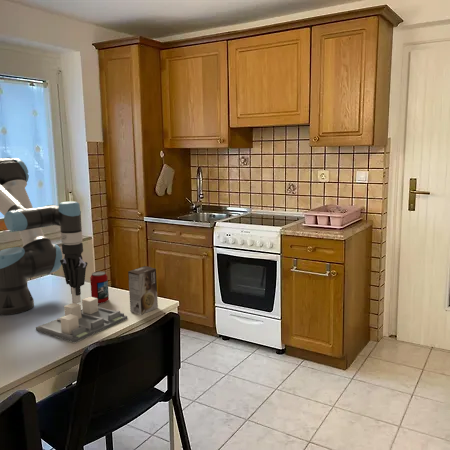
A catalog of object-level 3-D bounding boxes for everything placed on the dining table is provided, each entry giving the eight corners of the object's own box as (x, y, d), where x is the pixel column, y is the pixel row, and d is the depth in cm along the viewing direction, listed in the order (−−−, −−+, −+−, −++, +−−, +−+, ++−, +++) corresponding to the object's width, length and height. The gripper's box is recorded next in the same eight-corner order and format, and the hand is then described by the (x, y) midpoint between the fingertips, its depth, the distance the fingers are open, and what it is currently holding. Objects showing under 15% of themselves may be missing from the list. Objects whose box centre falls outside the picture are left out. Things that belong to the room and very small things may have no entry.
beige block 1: (65, 319, 163) (64, 306, 162) (74, 315, 166) (73, 302, 165) (72, 321, 161) (71, 308, 160) (81, 317, 164) (80, 304, 163)
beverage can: (104, 304, 180) (102, 275, 178) (88, 303, 182) (86, 275, 180) (111, 299, 187) (110, 271, 185) (96, 298, 188) (94, 270, 186)
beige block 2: (61, 331, 152) (60, 317, 151) (71, 327, 155) (70, 314, 154) (69, 334, 150) (68, 320, 149) (79, 330, 153) (78, 316, 152)
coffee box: (146, 304, 180) (144, 265, 177) (158, 307, 176) (156, 268, 173) (129, 311, 173) (127, 271, 170) (141, 315, 169) (139, 273, 166)
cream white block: (82, 312, 169) (82, 299, 169) (91, 309, 173) (90, 296, 172) (90, 314, 167) (89, 301, 166) (98, 311, 171) (97, 298, 170)
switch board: (35, 330, 156) (35, 321, 156) (90, 308, 176) (89, 301, 176) (74, 342, 146) (73, 334, 145) (127, 318, 166) (127, 310, 165)
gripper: (52, 242, 170) (57, 302, 174) (75, 246, 163) (80, 308, 167) (68, 239, 176) (73, 297, 180) (91, 242, 169) (95, 302, 173)
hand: (76, 302), depth 174 cm, fingers closed
